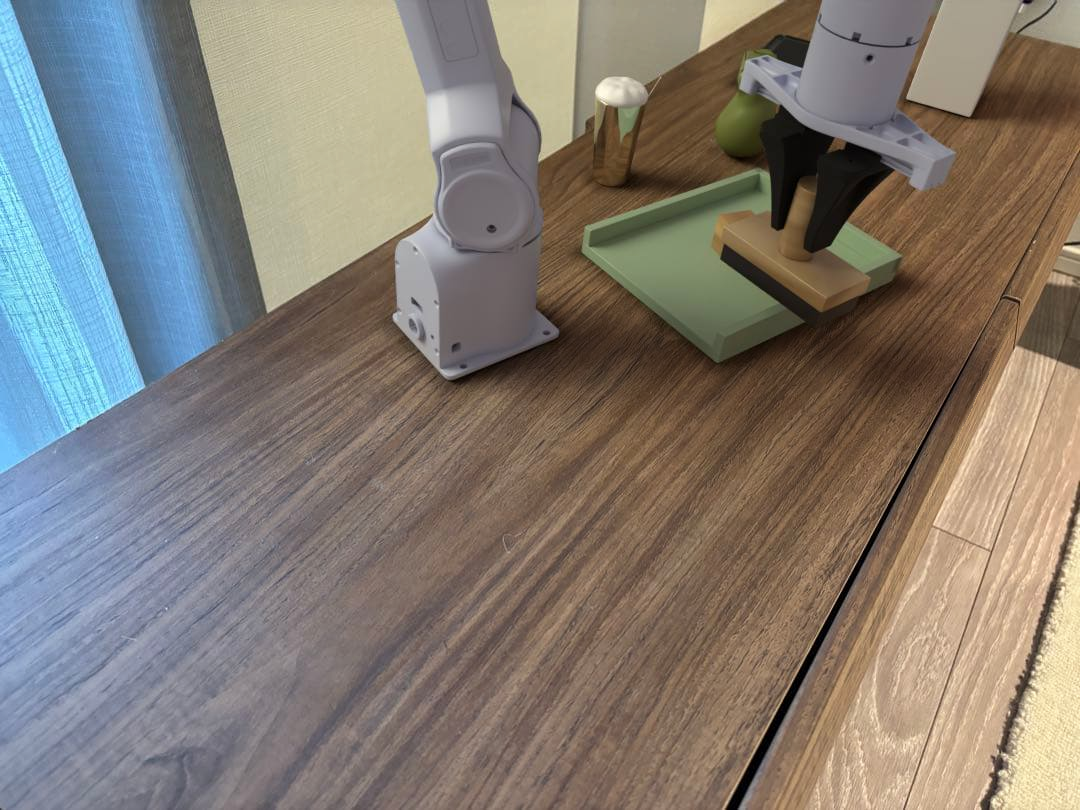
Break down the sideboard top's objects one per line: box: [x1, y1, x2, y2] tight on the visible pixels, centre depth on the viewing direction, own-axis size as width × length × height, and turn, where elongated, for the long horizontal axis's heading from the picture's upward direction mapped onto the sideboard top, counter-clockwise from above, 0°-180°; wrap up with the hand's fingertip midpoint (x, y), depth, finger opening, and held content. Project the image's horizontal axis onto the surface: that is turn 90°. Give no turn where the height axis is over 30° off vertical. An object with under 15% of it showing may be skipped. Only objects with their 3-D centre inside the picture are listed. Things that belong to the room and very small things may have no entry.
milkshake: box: [591, 75, 662, 188], centre depth 77 cm, size 4×5×10 cm
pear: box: [714, 48, 778, 158], centre depth 82 cm, size 6×5×10 cm
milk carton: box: [905, 0, 1024, 118], centre depth 92 cm, size 7×7×19 cm
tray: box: [581, 167, 903, 364], centre depth 71 cm, size 20×16×2 cm
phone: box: [736, 33, 811, 83], centre depth 101 cm, size 8×1×15 cm
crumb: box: [711, 210, 755, 257], centre depth 70 cm, size 3×3×3 cm
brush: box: [720, 175, 871, 329], centre depth 58 cm, size 4×9×8 cm, turn 35°
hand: (800, 236), depth 58 cm, fingers closed on brush, 2 cm apart
